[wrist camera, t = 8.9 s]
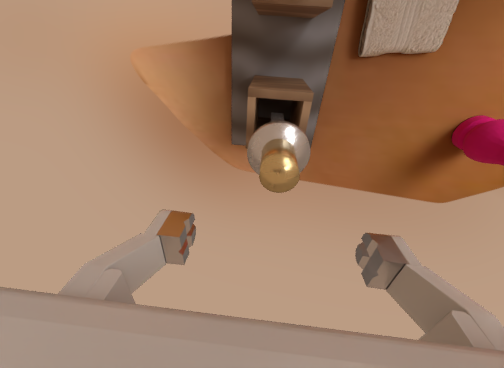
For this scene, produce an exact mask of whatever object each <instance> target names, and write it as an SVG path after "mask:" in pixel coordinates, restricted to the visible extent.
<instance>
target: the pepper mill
mask: <svg viewBox="0 0 504 368" xmlns="http://www.w3.org/2000/svg"><path fill="white" fill-rule="evenodd" d="M452 143H453V144H454V145H455V146H456V147H458V148H460V149H462V150H463V151H464V153H465V155H466V156H467V157H469V158H471V159H473V160H475V161H478V162H482V163H490V164H500V165H504V119H499V120H495V119H493V118H490V117H487V116H475V117H472V118H469V119H467V120H465V121H464V122H462V123H461V124H460V125H459V126H458V127H457V128H456V129H455V131H454V132H453V135H452Z"/></svg>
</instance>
